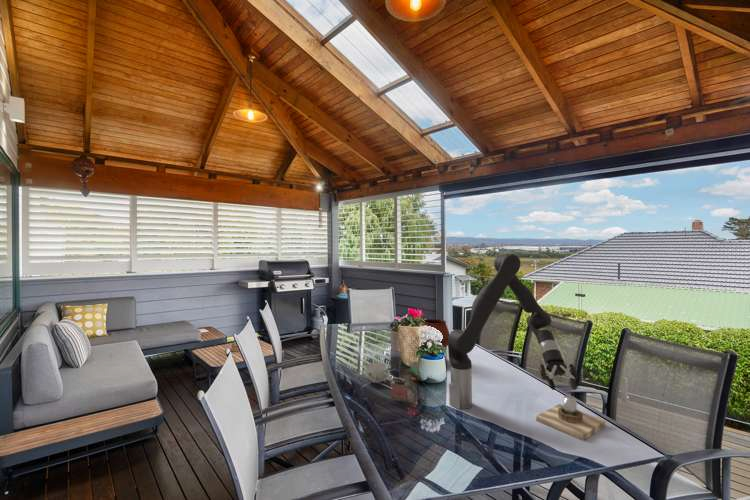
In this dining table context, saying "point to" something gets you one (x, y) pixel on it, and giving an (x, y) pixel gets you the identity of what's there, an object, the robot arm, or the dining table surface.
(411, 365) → the food container
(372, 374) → the grey spiky lump
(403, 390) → the lighter
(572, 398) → the roller
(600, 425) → the wooden board with ring
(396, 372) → the dining table surface
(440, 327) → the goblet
